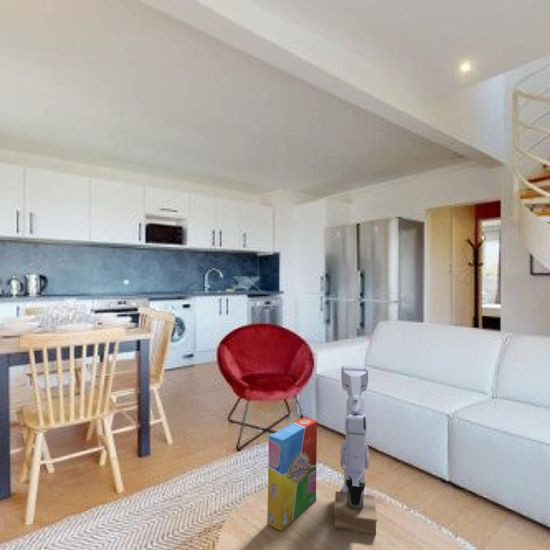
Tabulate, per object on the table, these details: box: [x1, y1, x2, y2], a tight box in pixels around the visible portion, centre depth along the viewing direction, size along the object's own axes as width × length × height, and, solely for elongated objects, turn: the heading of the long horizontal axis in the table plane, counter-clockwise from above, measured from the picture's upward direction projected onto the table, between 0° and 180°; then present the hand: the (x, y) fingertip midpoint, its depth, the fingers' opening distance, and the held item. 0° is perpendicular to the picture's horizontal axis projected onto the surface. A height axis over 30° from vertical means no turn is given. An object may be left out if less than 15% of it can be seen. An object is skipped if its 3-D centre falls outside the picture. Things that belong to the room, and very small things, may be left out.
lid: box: [333, 490, 378, 523], centre depth 117 cm, size 12×12×1 cm
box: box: [334, 516, 377, 535], centre depth 117 cm, size 12×12×4 cm
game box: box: [266, 417, 318, 531], centre depth 121 cm, size 21×6×27 cm, turn 143°
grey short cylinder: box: [347, 489, 363, 510], centre depth 117 cm, size 5×5×4 cm
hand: (355, 497), depth 117 cm, fingers open, 7 cm apart
